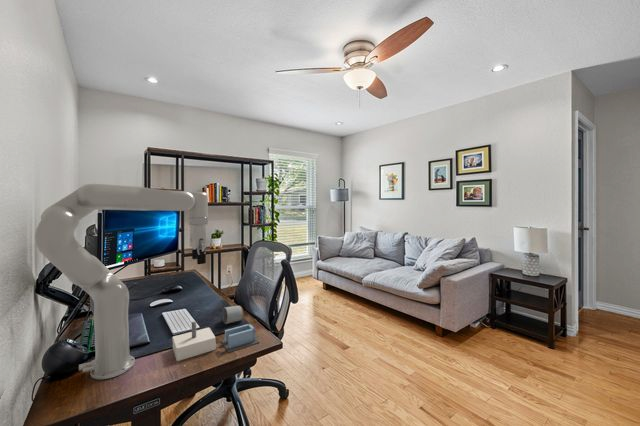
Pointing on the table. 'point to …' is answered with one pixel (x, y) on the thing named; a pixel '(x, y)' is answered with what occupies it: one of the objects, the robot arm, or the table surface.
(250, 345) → the coaster
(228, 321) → the white cylinder
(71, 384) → the table surface
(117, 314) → the robot arm
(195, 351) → the stand
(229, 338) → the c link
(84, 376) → the table surface
